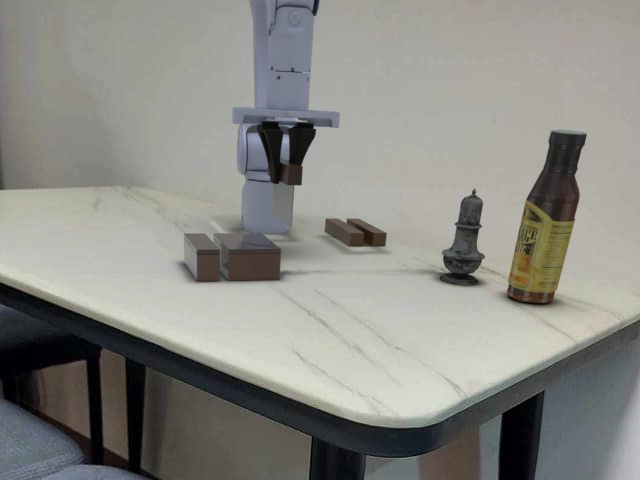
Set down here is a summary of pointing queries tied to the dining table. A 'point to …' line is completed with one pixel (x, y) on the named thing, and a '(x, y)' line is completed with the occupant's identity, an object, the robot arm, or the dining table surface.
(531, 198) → the sauce bottle
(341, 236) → the knife stand
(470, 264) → the salt shaker
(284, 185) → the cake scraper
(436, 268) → the dining table surface
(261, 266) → the brown lidded box
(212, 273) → the brown rectangular block
